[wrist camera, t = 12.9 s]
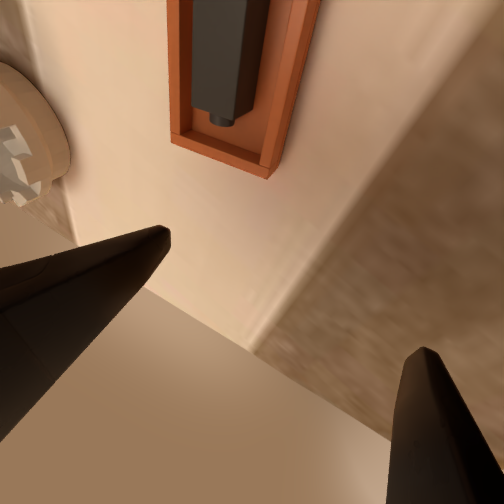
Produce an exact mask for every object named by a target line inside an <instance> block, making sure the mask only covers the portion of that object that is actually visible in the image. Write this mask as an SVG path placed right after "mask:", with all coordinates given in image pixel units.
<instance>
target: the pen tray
mask: <svg viewBox="0 0 504 504" xmlns="http://www.w3.org/2000/svg"><path fill="white" fill-rule="evenodd" d="M320 1H321V0H270V6H269V12H268V18H267V24H266V31H265V37H264V43H263V49H262V55H261V62H260V68H259V74H258V80H257V86H256V93H255V99H254V105H253V110H252V111H250V112H248V113H246V114H244V115H243V116H241V117H239V118H237V119H235V124H234V126H231V127H220V126H216V125H214V124H212V123H211V122H210V121H209V112H206V111H203V110H200V109H197V108H194V107H192V106H191V82H192V26H193V0H167V32H168V66H169V100H170V131H171V143H173V144H176V145H178V146H181V147H183V148H186V149H189V150H191V151H194V152H196V153H199V154H202V155H204V156H207V157H210V158H212V159H215V160H217V161H220V162H223V163H225V164H228V165H230V166H233V167H236V168H238V169H241V170H243V171H246V172H249V173H251V174H254V175H256V176H259V177H262V178H264V179H268V178H269V177H270V176H271V175H272V174H273V173H274V172H275V171H276V169H277V168H278V165H279V162H280V158H281V154H282V150H283V146H284V142H285V138H286V134H287V130H288V126H289V123H290V119H291V115H292V111H293V107H294V103H295V99H296V95H297V91H298V87H299V83H300V80H301V76H302V72H303V68H304V64H305V60H306V56H307V52H308V48H309V44H310V40H311V37H312V33H313V29H314V25H315V21H316V17H317V13H318V9H319V5H320Z"/></svg>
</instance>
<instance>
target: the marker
mask: <svg viewBox="0 0 504 504" xmlns="http://www.w3.org/2000/svg"><path fill="white" fill-rule="evenodd" d="M269 6H270V0H193V26H192V82H191V106H192V107H194V108H197V109H200V110H203V111H206V112H209V121H210V122H211V123H212V124H214V125H216V126H220V127H231V126H234V124H235V119H237V118H239V117H241V116H243V115H244V114H246V113H248V112H250V111H252V110H253V105H254V99H255V93H256V86H257V80H258V74H259V68H260V62H261V55H262V49H263V43H264V37H265V31H266V24H267V18H268V12H269Z"/></svg>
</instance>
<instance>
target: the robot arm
mask: <svg viewBox="0 0 504 504" xmlns="http://www.w3.org/2000/svg"><path fill="white" fill-rule="evenodd" d="M170 248H171V232H170V229H168V228H166V227H164V226H162V225H156V226H153V227H149V228H146V229H142V230H138V231H135V232H131V233H128V234H124V235H121V236H117V237H114V238H110V239H107V240H103V241H100V242H96V243H92V244H89V245H85V246H82V247H78V248H75V249H71V250H68V251H64V252H61V253H58V254H54V255H53V256H52V255H50V256H46V257H43V258H39V259H36V260H32V261H28V262H24V263H21V264H16V265H12V266H8V267H3V268H0V442H1V441H2V440H3V439H4V438H5V437H6V435H8V433H9V432H10V431H11V430H12V429H13V428H14V427H15V426H16V425H17V424H18V422H19V421H20V420H21V419H22V418H23V417H24V416H25V415H26V414H27V413H28V412H29V410H30V409H31V408H32V407H33V406H34V405H35V404H36V403H37V402H38V400H40V398H41V397H42V396H43V395H44V394H45V393H46V392H47V391H48V390H49V389H50V387H51V386H52V385H53V384H54V383H55V381H56V380H57V379H58V378H59V377H60V376H61V375H62V374H63V373H64V372H65V371H66V370H67V369H68V367H69V366H70V365H71V364H72V363H73V362H74V361H75V360H76V359H77V358H78V357H79V355H80V354H81V353H82V352H83V351H84V350H85V349H86V348H87V347H88V345H90V343H91V342H92V341H93V340H94V339H95V338H96V337H97V336H98V335H99V334H100V332H101V331H102V330H103V329H104V328H105V327H106V326H107V325H108V324H109V322H111V320H112V319H113V318H114V317H115V316H116V315H117V314H118V313H119V311H121V309H122V308H123V307H124V306H125V305H126V304H127V303H128V302H129V301H130V300H131V299H132V297H133V296H134V295H135V294H136V293H137V292H138V291H139V290H140V288H142V286H143V285H144V284H145V283H146V282H147V281H148V279H149V278H150V277H151V275H152V274H153V272H154V271H155V270H156V268H157V267H158V266H159V264H160V263H161V261H162V260H163V259H164V257H165V256H166V255H167V253H168V252H169V250H170ZM389 464H390V465H389V474H388V486H387V497H386V504H504V474H503V472H502V470H501V468H500V466H499V464H498V462H497V461H496V459H495V457H494V455H493V453H492V451H491V450H490V448H489V446H488V444H487V442H486V440H485V439H484V437H483V435H482V433H481V431H480V429H479V428H478V426H477V424H476V422H475V420H474V418H473V416H472V415H471V413H470V411H469V409H468V407H467V405H466V404H465V402H464V400H463V398H462V396H461V394H460V393H459V391H458V389H457V387H456V385H455V383H454V381H453V380H452V378H451V376H450V374H449V372H448V370H447V369H446V367H445V365H444V363H443V361H442V359H441V358H440V356H439V354H438V353H437V352H435V351H433V350H431V349H429V348H426V347H420V348H419V349H418V350H416V351H415V352H414V353H413V354H411V355H410V356H409V357H408V358H407V359H406V361H405V363H404V366H403V371H402V376H401V380H400V385H399V390H398V394H397V399H396V404H395V409H394V417H393V429H392V440H391V451H390V463H389Z"/></svg>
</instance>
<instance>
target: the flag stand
mask: <svg viewBox="0 0 504 504" xmlns="http://www.w3.org/2000/svg"><path fill="white" fill-rule="evenodd" d="M70 159H71V158H70V149H69V146H68V142H67V139H66V136H65V134H64V131H63V129H62V126H61V124H60V123H59V121H58V119H57V117H56V115H55V113H54V112H53V110H52V109H51V107H50V106H49V104H48V103H47V101H46V100H45V99H44V97H43V96H42V95H41V94H40V92H39V91H38V90H37V89H36V88H35V87H34V86H33V85H32V83H31V82H30V81H29V80H28V79H26V78H25V77H24V76H23V75H22V74H21V73H19V72H18V71H17V70H15V69H14V68H12V67H11V66H9V65H7V64H4V63H2V62H0V202H2V203H4V204H5V203H7V202H10V201H12V200H14V201H15V203H16V204H17V205H18V207H21V206H24V205H26V204H28V203H30V202H32V201H35V200H37V199H39V198H41V197H43V196H45V195H46V194H47V193H48V192H49V191H50V189H51V186H52V180H54V179H56V178H59V177H61V176H63V175H65V174H66V173H67V172H68V170H69V167H70Z"/></svg>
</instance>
